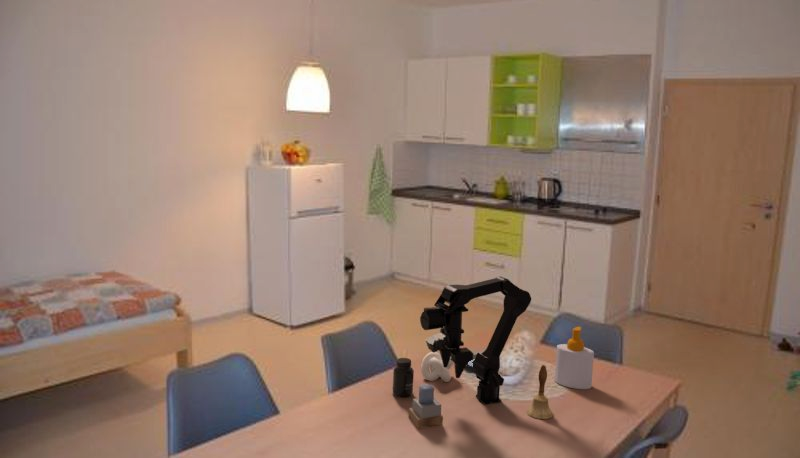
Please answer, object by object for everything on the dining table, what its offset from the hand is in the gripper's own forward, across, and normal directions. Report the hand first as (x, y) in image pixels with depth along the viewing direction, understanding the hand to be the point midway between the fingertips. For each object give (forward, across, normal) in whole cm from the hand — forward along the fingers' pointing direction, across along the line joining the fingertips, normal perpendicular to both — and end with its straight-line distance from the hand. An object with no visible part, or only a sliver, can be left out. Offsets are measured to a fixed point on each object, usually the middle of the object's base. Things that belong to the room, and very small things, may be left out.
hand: (451, 372), depth 204 cm
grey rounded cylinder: (+5, +7, -12) cm, 14 cm away
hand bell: (+12, +13, +25) cm, 31 cm away
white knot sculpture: (+12, -23, +5) cm, 26 cm away
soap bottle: (+13, -4, +50) cm, 51 cm away
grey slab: (+9, +7, -11) cm, 16 cm away
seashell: (+13, -29, +24) cm, 39 cm away
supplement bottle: (+12, -14, -11) cm, 21 cm away
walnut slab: (+12, +7, -12) cm, 18 cm away
